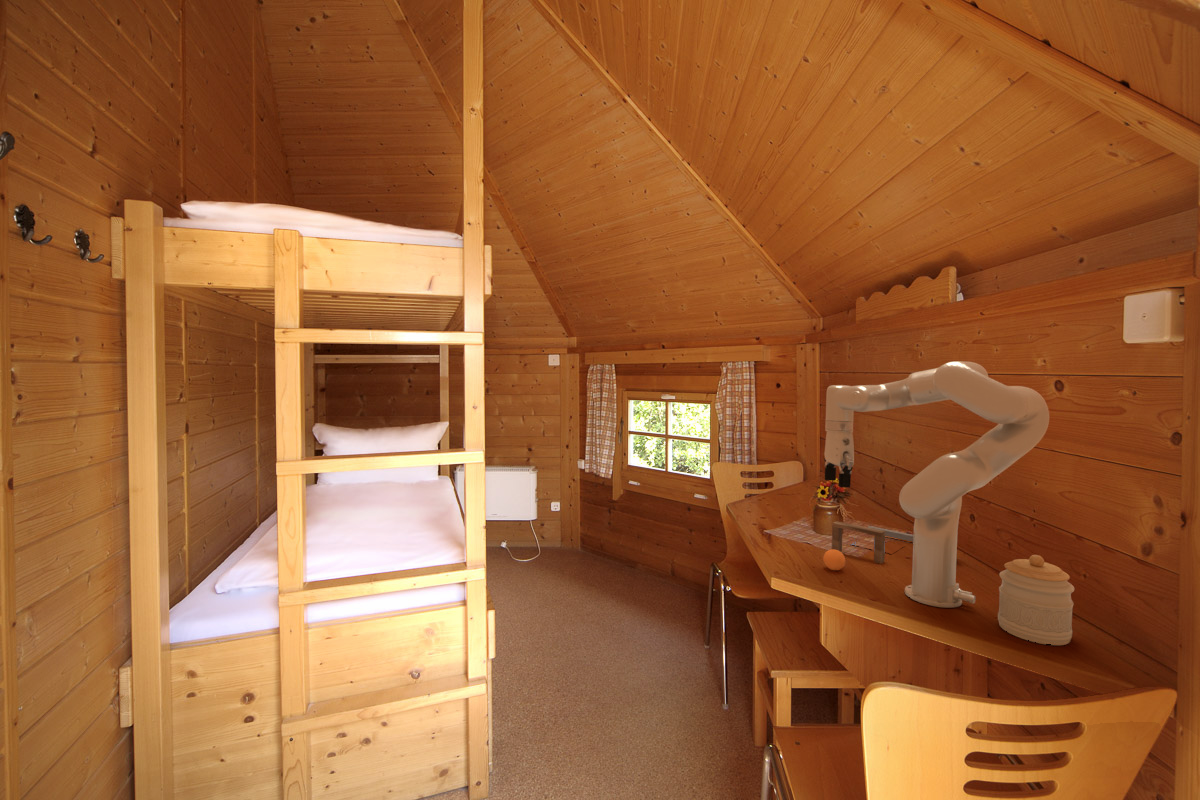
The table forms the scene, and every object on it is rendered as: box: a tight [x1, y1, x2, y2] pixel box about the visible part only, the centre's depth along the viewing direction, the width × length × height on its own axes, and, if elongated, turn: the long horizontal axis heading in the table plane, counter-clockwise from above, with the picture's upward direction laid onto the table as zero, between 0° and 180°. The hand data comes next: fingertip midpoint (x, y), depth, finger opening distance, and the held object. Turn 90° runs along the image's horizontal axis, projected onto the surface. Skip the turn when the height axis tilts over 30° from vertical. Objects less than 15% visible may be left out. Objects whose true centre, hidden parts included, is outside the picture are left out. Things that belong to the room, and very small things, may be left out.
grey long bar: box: [866, 525, 914, 542], centre depth 189 cm, size 16×2×2 cm, turn 43°
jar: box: [997, 554, 1075, 646], centre depth 119 cm, size 13×13×18 cm
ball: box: [822, 548, 846, 571], centre depth 157 cm, size 6×6×6 cm
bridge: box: [831, 520, 886, 565], centre depth 168 cm, size 3×15×10 cm, turn 43°
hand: (836, 483), depth 158 cm, fingers open, 9 cm apart
